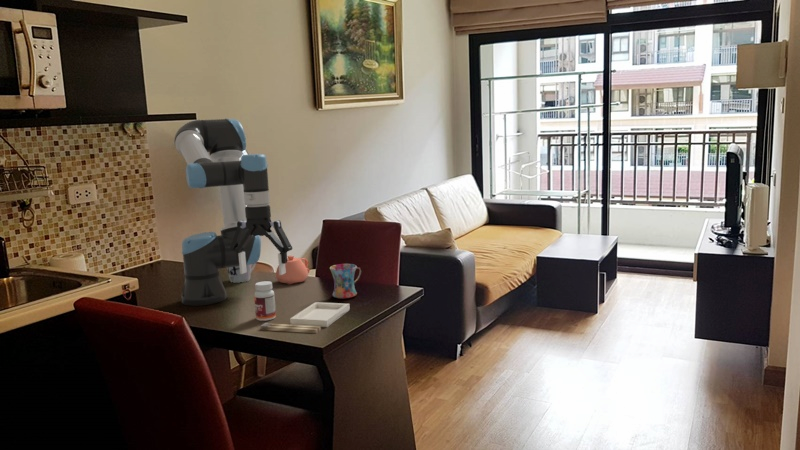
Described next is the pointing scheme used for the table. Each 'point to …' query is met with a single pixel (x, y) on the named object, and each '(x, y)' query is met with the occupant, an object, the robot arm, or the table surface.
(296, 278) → the pink teapot
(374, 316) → the table surface
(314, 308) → the tray
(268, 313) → the pill bottle
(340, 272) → the mug
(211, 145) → the robot arm
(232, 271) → the mug
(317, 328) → the tongs
